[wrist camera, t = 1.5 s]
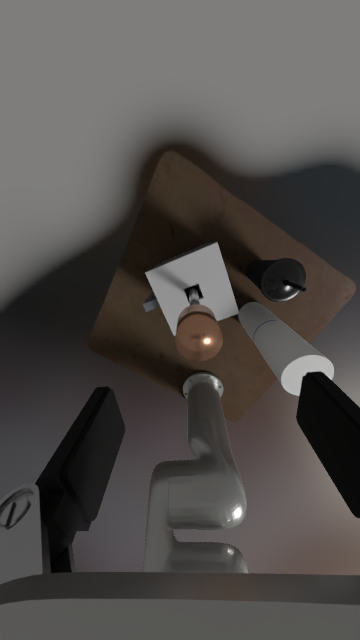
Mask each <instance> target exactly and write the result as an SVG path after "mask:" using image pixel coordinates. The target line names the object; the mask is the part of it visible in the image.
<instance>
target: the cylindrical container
mask: <svg viewBox="0 0 360 640" xmlns="http://www.w3.org/2000/svg"><path fill="white" fill-rule="evenodd" d="M238 318H239V321H240V323H241V324H242V326H243V327H244V329H245V330H246V332H247V333H248V335H249V336H250V338H251V339H252V341H253V342H254V344H255V345H256V347H257V348H258V350H259V351H260V353H261V354H262V356H263V357H264V359H265V360H266V362H267V363H268V365H269V366H270V368H271V369H272V371H273V372H274V374H275V375H276V377H277V378H278V380H279V381H280V383H281V384H282V386H283V387H284V389H285V390H286V391H287V392H289V393H291V394H293V395H298V396H300V390H301V383H302V377H303V376H305V375H306V373H307V372H317V371H321V372H323V373H324V374H325V375H326V376H327V377H328V378H330V379H331V380H332V378H333V375H334V367H333V365H332V363H331V362H330V361H329V360H328V359H327V358H326V357H324V356H323V355H322V354H321V353H320V352H319V351H317V350H316V349H315V348H314V347H313V346H311V345H310V344H309V343H308V342H307V341H305V340H304V339H303V338H302V337H300V336H299V335H298V334H297V333H296V332H294V331H293V330H292V329H291V328H290V327H288V326H287V325H286V324H285V323H284V322H282V321H281V320H280V319H279V318H278V317H276V316H275V315H274V314H273V313H271V312H270V311H269V310H268V309H267V308H265V307H264V306H263V305H262V304H260V303H258V302H249V303H247V304H245V305H244V306H243V307H242V308H241V309H240V311H239V314H238Z"/></svg>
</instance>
